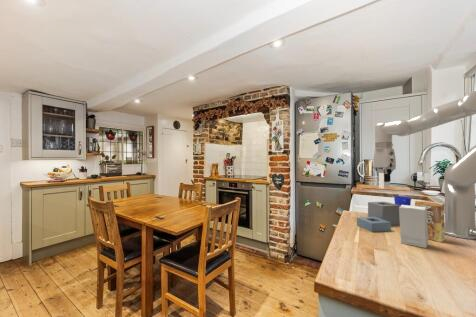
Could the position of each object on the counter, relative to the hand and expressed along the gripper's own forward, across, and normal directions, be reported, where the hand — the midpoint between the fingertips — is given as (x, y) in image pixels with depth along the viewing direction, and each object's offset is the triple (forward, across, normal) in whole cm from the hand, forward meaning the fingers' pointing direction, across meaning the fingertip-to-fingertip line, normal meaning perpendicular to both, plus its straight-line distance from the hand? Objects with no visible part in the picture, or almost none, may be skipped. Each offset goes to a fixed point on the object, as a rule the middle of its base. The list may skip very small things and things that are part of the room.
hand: (384, 180), depth 115 cm
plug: (+4, 0, 0) cm, 4 cm away
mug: (+22, +13, -25) cm, 36 cm away
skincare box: (+22, -27, +11) cm, 37 cm away
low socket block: (+22, -7, +12) cm, 26 cm away
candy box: (+22, -23, -1) cm, 32 cm away
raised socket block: (+22, 0, 0) cm, 22 cm away
